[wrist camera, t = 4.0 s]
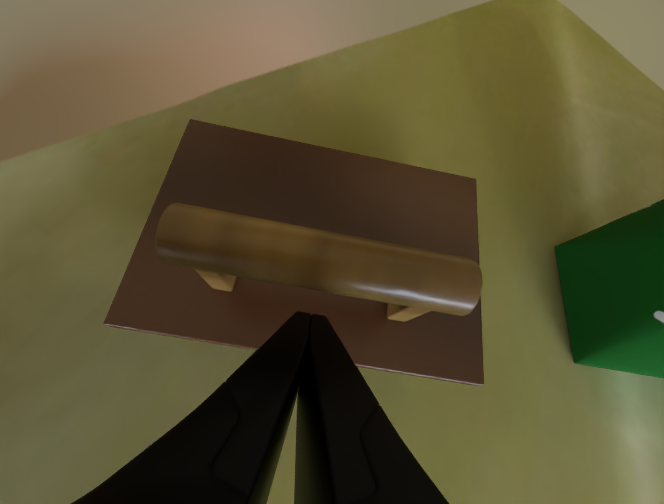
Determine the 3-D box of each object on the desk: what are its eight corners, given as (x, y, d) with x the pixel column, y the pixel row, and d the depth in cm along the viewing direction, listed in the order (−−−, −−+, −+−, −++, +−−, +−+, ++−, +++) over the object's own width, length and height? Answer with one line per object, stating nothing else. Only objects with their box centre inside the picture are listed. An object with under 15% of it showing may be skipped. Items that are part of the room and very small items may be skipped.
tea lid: (471, 384, 11) (614, 397, 6) (116, 327, 10) (-43, 290, 5) (466, 188, 14) (559, 94, 9) (194, 132, 13) (141, -4, 8)
